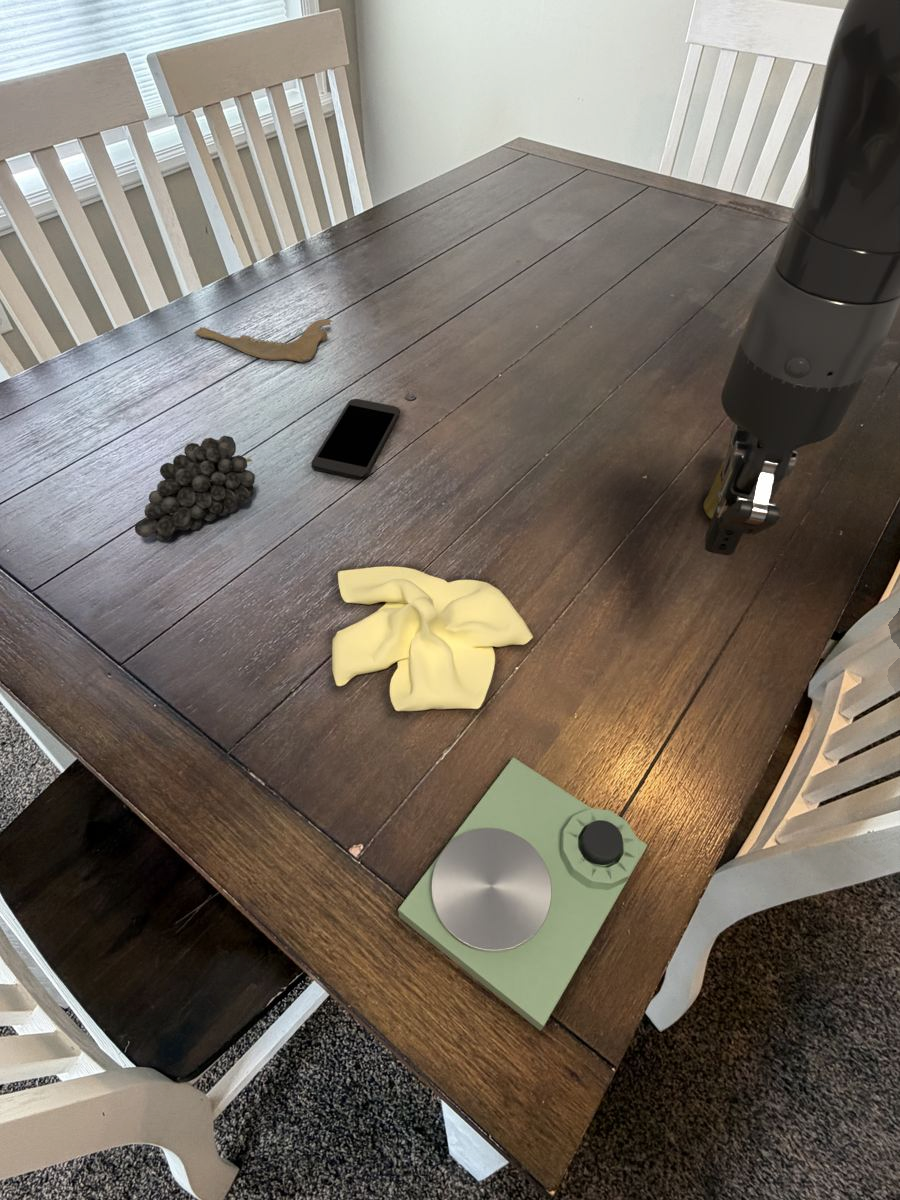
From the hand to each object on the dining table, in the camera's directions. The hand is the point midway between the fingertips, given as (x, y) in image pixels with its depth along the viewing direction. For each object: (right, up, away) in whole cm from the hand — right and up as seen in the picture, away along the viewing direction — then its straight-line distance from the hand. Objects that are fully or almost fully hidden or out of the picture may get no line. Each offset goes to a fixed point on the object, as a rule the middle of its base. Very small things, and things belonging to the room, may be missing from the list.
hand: (717, 546), depth 57 cm
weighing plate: (-18, -26, -2) cm, 32 cm away
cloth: (-25, -8, +17) cm, 31 cm away
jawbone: (-48, +35, +52) cm, 80 cm away
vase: (+12, +6, +30) cm, 33 cm away
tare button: (-9, -24, 0) cm, 25 cm away
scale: (-15, -27, +1) cm, 31 cm away
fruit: (-50, +6, +28) cm, 58 cm away
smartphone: (-33, +16, +37) cm, 52 cm away
